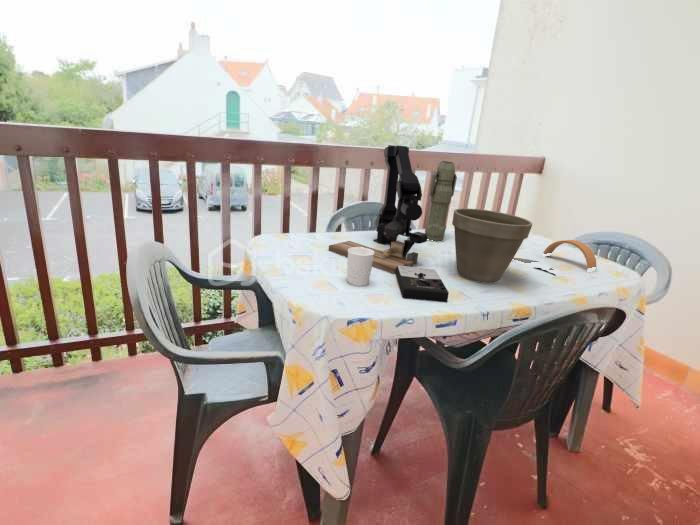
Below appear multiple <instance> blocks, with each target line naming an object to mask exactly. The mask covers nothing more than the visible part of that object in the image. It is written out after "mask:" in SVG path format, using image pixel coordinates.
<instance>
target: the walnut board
mask: <svg viewBox="0 0 700 525" xmlns="http://www.w3.org/2000/svg"><path fill="white" fill-rule="evenodd" d="M352 247H363V248H368V249H371V250H373V251H374V258H373V263H372V268H375V269H377V270H381V271H384V272H386V273H389V274H392V275H395V273H396V267H397V266H408V267H414V265H417V264H418V258H419V252H414V251H413V252H408V253H407V257H406V259H403V258H400V257H397V256H394V255H388V256H386V257H385V255H383V251H382V250H378V249H376V248H372V247H371V246H370V247H369V246H366V245H363V244H361V243H359V242H358V243H357V242H354V241H353V240H352V241H351V240H346V241H341V242H338V243H334V244H330V245H328V250H327V251H329V252H331V253H334V254H337V255H340V256H342V257H346V258H348V249H349V248H352Z"/></svg>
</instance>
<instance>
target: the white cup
mask: <svg viewBox="0 0 700 525" xmlns="http://www.w3.org/2000/svg"><path fill="white" fill-rule="evenodd" d="M373 258H374V251H373V250H371V249H368V248H363V247H352V248H349V249H348V257H347V263H346V264H347V265H346V266H347V268H346V271H347V272H346V274H347V276H346V281H347V283H349V284H350V285H353V286H355V287H356V286H357V287H359V286H360V287H364V286H367V285H369V284H370V283H369V282H370V277H371V275H372V274H371V273H372V268H373V267H372V263H373Z"/></svg>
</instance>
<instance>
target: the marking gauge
mask: <svg viewBox="0 0 700 525" xmlns="http://www.w3.org/2000/svg"><path fill="white" fill-rule="evenodd" d="M404 247H405V243H404V241H400V240H396V241H394V242H391V247H390V246H389V248H387V249H383V251H382V252H383V255H385V257H386V256H388V255H394V256H397V257H400V258H403V259H406V260H407V255H406V257H403V252H404Z"/></svg>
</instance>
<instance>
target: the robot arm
mask: <svg viewBox="0 0 700 525" xmlns="http://www.w3.org/2000/svg"><path fill="white" fill-rule="evenodd" d="M409 153H410V148H409V146H405V145H391V144H388V145H387V147H385V148H384V151H383V157H384V163H385V165H386V167H387V175H386V182H385V183H386V184H385V193H384V202H383V204H382V206H381V207H380V209H379V213H378V214H377V216H376V219H375V221H374V225H375V228H376V232H377V234H376V238H375V239H376V240H375V239H374V240H375V241H374V242H376V241H378V242H377V243H379V242H380V243H379V244H382V243H383V244H384V245H389V246H388V247H389V248H390V247H391V242H394V241H398V237H399V236H403V237H406V238H407V239H405V240H403V242H404V243H405V247H404V252H403V257H406V255H407V254H409V253H410V250H411V249H412V247H413V246H414V245H415V244H418V245H419V244H423V243H426V242H427V241H428V240H427V235H426V234H425V232H420V231H415V232H412V231H413V230H412V229H413V228H412V227H411V226H412V221H413V222H414V221H417V220H419V219H420V218H421V217H422V215H423V209H422V206H421V205H420V204H419V201H422V197H423V193H422V186H421V183H420V181H419V177H418V176H417V175H416V174H415V173H414V172H413V169H412V164H411V159H410V155H409ZM397 198H398V200H397ZM396 202H397V205H396ZM383 244H382V245H383ZM406 258H407V257H406Z"/></svg>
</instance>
